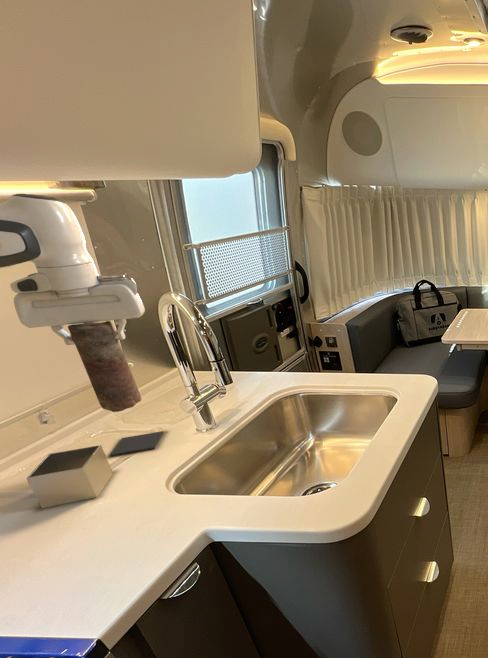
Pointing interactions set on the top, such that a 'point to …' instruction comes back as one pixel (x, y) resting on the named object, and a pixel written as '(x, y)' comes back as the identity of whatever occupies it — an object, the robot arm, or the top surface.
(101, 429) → the top surface
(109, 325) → the candle
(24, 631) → the top surface
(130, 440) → the mat
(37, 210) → the robot arm
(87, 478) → the beige open box
